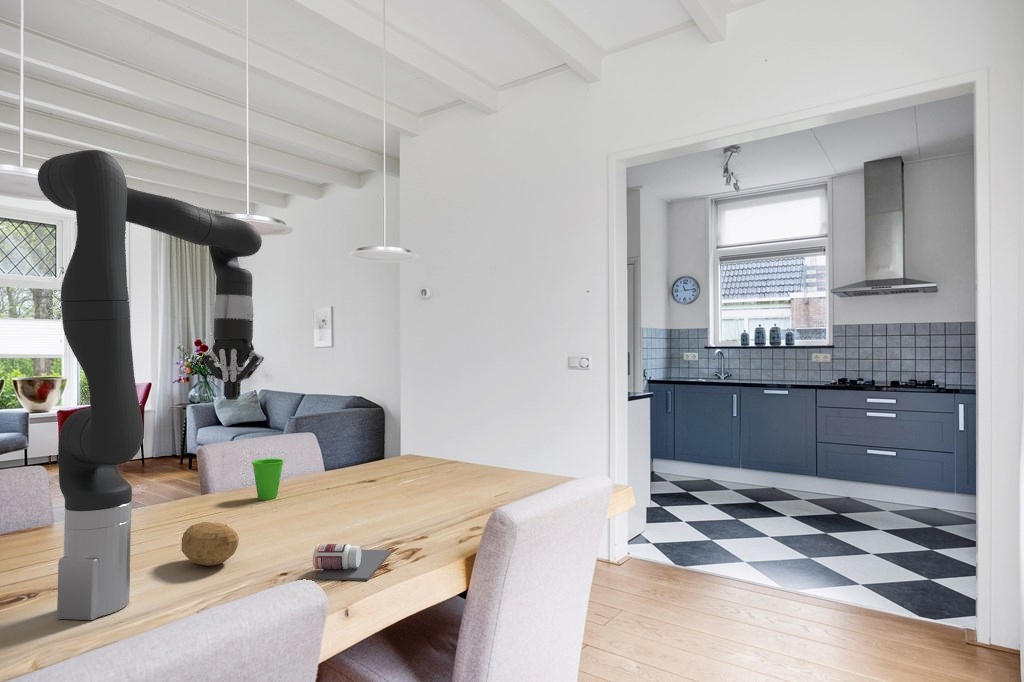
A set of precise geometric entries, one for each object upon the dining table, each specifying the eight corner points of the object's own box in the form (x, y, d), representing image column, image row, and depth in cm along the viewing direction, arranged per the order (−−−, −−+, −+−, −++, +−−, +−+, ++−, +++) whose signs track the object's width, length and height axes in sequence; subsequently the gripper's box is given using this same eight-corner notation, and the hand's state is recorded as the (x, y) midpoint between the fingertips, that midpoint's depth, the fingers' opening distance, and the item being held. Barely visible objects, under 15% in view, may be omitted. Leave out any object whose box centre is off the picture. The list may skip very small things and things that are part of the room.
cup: (250, 496, 177) (251, 459, 177) (282, 493, 181) (283, 457, 181) (251, 503, 169) (251, 464, 169) (285, 500, 173) (285, 462, 173)
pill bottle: (318, 570, 117) (360, 571, 117) (310, 567, 113) (353, 568, 113) (322, 545, 120) (363, 546, 119) (314, 541, 115) (357, 542, 115)
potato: (214, 550, 128) (215, 513, 128) (250, 564, 120) (250, 524, 120) (167, 563, 120) (168, 523, 120) (201, 578, 112) (202, 536, 112)
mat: (367, 580, 111) (367, 578, 111) (316, 578, 112) (316, 576, 112) (391, 552, 127) (391, 550, 127) (346, 551, 128) (346, 548, 128)
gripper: (193, 316, 122) (191, 400, 122) (254, 316, 121) (253, 401, 120) (214, 318, 129) (212, 398, 129) (272, 318, 128) (270, 398, 128)
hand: (232, 399), depth 125 cm, fingers closed
